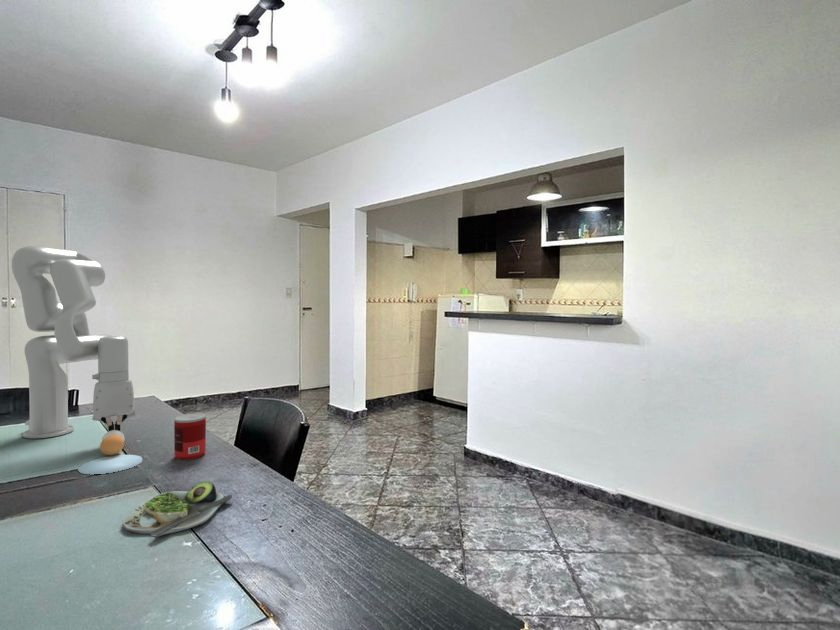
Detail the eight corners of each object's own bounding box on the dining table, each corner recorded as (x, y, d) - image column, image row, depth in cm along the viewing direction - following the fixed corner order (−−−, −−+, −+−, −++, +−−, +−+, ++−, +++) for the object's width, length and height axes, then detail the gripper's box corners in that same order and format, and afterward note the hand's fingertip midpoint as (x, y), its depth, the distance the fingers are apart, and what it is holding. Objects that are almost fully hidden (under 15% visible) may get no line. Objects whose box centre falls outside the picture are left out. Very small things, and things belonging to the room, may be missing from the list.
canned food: (211, 451, 129) (211, 413, 128) (194, 461, 121) (194, 421, 120) (186, 450, 129) (186, 412, 129) (168, 459, 122) (168, 419, 121)
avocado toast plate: (198, 545, 80) (198, 520, 80) (97, 545, 80) (97, 520, 80) (238, 498, 100) (238, 477, 100) (157, 498, 99) (157, 477, 99)
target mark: (64, 470, 112) (64, 470, 112) (115, 453, 126) (115, 452, 126) (106, 477, 109) (106, 477, 109) (154, 458, 122) (154, 458, 122)
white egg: (96, 432, 127) (96, 451, 126) (114, 429, 127) (114, 449, 126) (111, 430, 133) (111, 449, 132) (129, 428, 132) (129, 447, 131)
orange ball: (95, 456, 123) (95, 437, 122) (113, 449, 128) (113, 430, 128) (110, 460, 121) (110, 440, 121) (128, 452, 127) (128, 433, 126)
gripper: (81, 381, 126) (82, 445, 127) (143, 376, 135) (144, 436, 135) (83, 377, 133) (84, 438, 133) (142, 373, 141) (143, 430, 141)
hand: (114, 437), depth 134 cm, fingers closed
